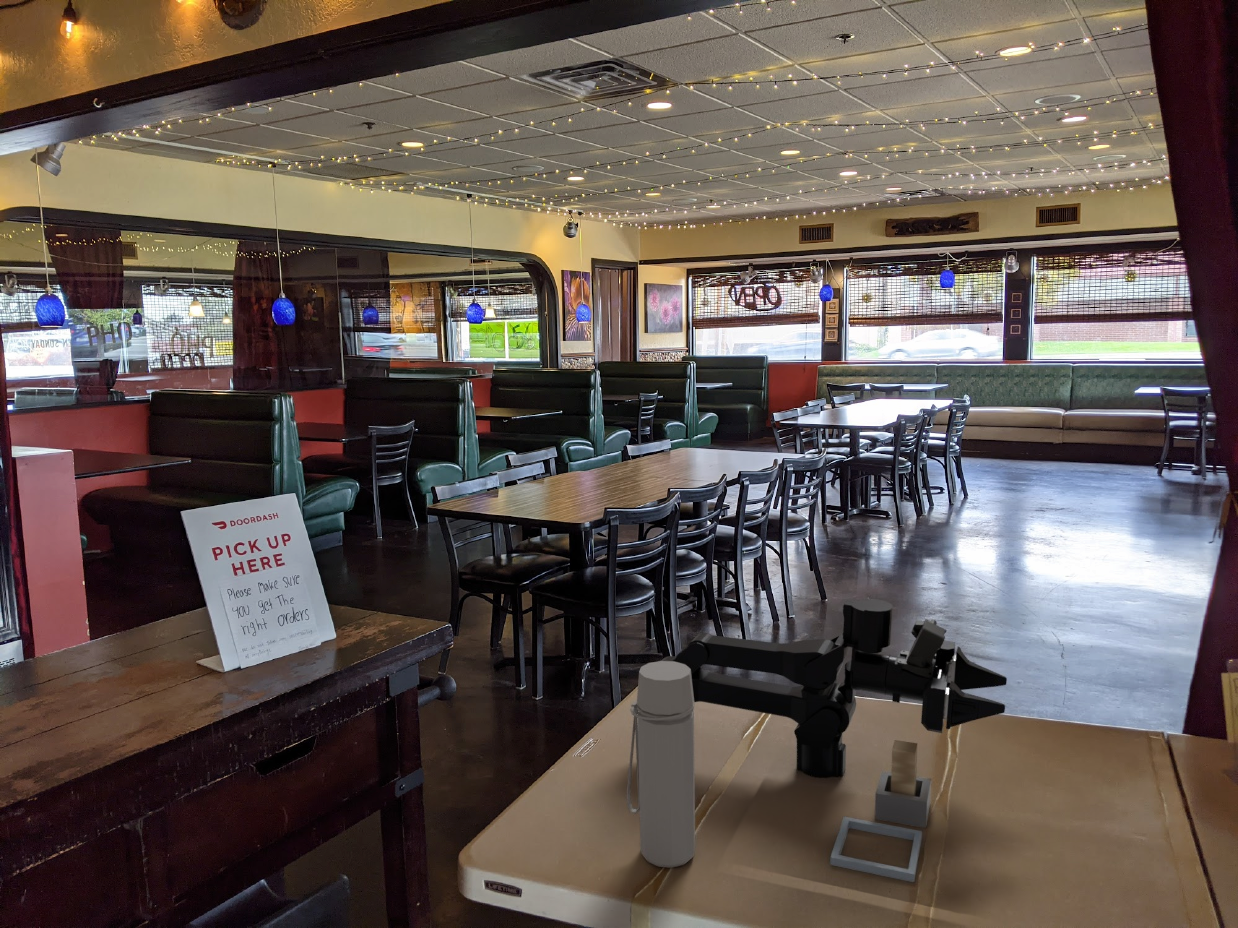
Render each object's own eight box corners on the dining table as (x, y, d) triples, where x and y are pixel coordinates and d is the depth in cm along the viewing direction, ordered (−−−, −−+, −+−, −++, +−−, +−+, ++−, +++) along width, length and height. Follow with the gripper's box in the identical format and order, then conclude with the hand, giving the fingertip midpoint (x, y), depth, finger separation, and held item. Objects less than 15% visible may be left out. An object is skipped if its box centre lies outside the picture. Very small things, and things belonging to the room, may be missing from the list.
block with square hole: (874, 823, 125) (875, 793, 124) (881, 800, 131) (881, 770, 130) (925, 833, 123) (926, 802, 122) (929, 808, 129) (930, 778, 128)
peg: (890, 814, 126) (892, 749, 124) (892, 803, 129) (894, 739, 127) (913, 818, 125) (915, 752, 123) (915, 807, 128) (917, 743, 126)
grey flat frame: (830, 870, 115) (830, 856, 115) (843, 828, 124) (844, 816, 124) (913, 887, 111) (914, 874, 111) (921, 843, 120) (921, 831, 120)
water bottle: (705, 844, 121) (703, 663, 117) (683, 877, 114) (681, 686, 110) (640, 829, 125) (637, 654, 121) (616, 860, 118) (611, 675, 114)
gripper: (882, 645, 123) (1009, 665, 116) (900, 601, 139) (1012, 616, 133) (877, 723, 125) (1002, 746, 119) (895, 669, 142) (1005, 687, 135)
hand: (1005, 694), depth 126 cm, fingers open, 9 cm apart
